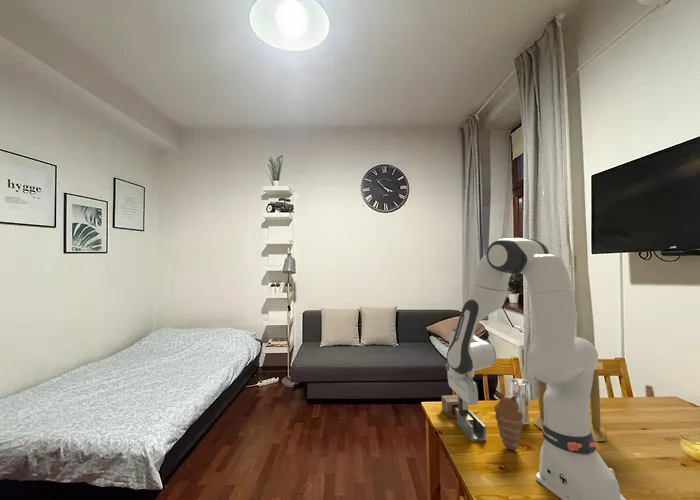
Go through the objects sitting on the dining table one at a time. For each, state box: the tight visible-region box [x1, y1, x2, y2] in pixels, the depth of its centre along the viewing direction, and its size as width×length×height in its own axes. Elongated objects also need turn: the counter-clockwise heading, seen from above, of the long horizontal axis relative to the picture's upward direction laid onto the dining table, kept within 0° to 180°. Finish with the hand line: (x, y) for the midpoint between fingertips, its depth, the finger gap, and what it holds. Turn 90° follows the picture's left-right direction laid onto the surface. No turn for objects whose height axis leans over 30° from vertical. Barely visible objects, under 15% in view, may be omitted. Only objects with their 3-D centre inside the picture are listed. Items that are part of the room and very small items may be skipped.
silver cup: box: [509, 378, 531, 425], centre depth 133 cm, size 7×7×15 cm
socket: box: [441, 394, 458, 418], centre depth 140 cm, size 6×8×6 cm
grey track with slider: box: [456, 409, 487, 442], centre depth 124 cm, size 13×5×5 cm, turn 4°
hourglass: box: [532, 360, 607, 442], centre depth 127 cm, size 24×22×25 cm
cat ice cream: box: [493, 391, 524, 451], centre depth 113 cm, size 9×8×18 cm
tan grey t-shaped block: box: [452, 399, 474, 428], centre depth 132 cm, size 14×3×8 cm, turn 4°
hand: (462, 407), depth 131 cm, fingers closed on tan grey t-shaped block, 2 cm apart
